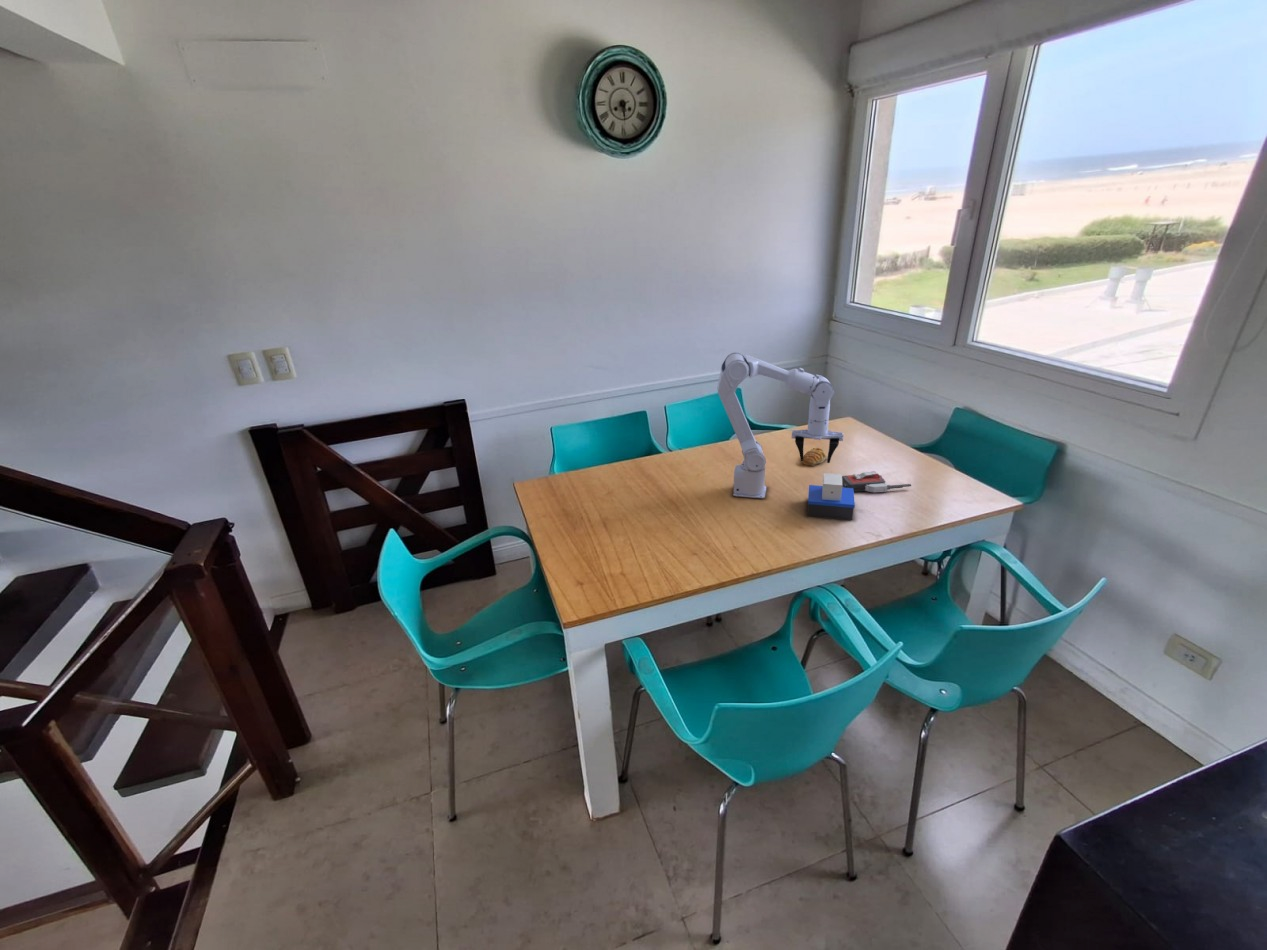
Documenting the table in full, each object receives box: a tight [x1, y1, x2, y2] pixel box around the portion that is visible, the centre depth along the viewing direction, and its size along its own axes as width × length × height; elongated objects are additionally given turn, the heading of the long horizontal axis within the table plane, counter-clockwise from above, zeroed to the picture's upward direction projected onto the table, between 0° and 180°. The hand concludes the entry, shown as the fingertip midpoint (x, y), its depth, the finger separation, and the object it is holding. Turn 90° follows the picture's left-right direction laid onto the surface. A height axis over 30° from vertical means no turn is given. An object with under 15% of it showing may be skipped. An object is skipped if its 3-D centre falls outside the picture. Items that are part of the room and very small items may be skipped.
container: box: [807, 484, 856, 521], centre depth 161 cm, size 12×10×5 cm
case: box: [821, 472, 843, 501], centre depth 159 cm, size 7×5×5 cm
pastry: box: [802, 447, 828, 466], centre depth 192 cm, size 9×7×4 cm
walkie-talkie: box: [842, 470, 912, 493], centre depth 172 cm, size 9×4×20 cm
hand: (815, 460), depth 169 cm, fingers open, 7 cm apart
